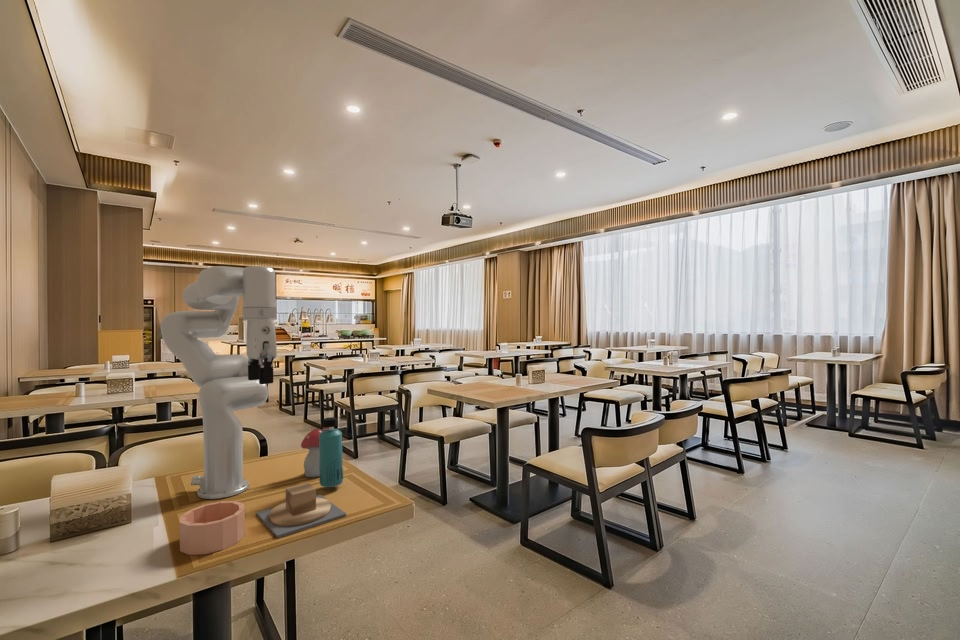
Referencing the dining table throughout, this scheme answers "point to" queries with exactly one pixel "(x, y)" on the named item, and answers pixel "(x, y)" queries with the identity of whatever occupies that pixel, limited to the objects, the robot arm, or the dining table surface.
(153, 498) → the dining table surface
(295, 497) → the lid
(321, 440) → the beverage bottle
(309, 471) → the decorative ornament
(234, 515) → the bowl
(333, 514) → the mat
